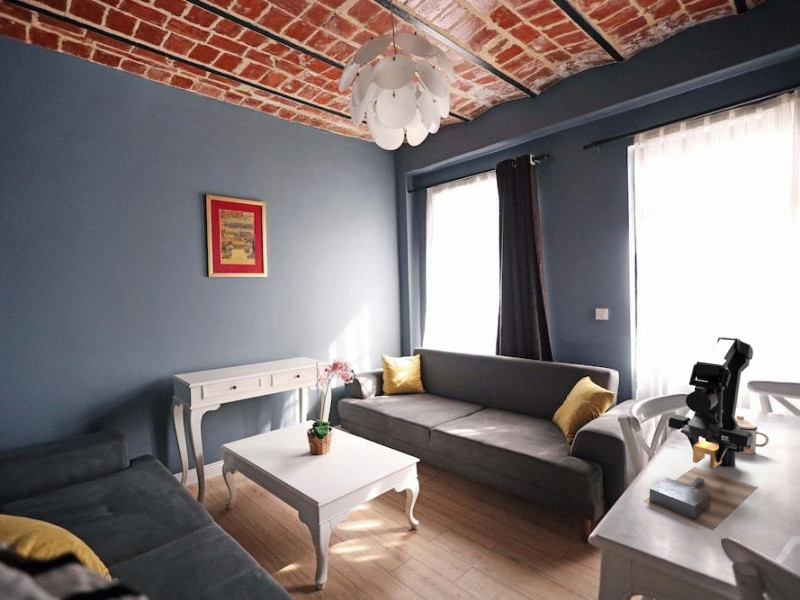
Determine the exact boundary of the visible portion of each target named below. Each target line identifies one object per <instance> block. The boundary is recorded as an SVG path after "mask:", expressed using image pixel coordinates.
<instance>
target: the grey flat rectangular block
mask: <svg viewBox="0 0 800 600" xmlns="http://www.w3.org/2000/svg"><path fill="white" fill-rule="evenodd" d="M675 480H676V479H673V478H669V477H665V478H664V479H662V480H660V482H657V483H656V484H655V485H653V486H651V487H650V488H649V497H650V499H649V502H651V503H654V504H656V505H658V506H661V507H663V508H666V509H668V510H670V511H673V512H675V513H678V514H680V515H683V516H685V517H687V518H690V519H692V520H696V519H697V518H698V517H699V516H700V515H701V514H703V513H704V512H705V511H706V510H707V509H708V508H709V507H710V503H711V493H709V492H706V491H703V490H700V489H699V488H700V487H701V486H703V485H704V480H705V479H703V478H700V477H697V478H696V479H694V480H693V481H691V482H690V483H689V484H687V485H686V484H684V483H681V482H678V481H675Z"/></svg>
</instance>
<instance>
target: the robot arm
mask: <svg viewBox="0 0 800 600" xmlns="http://www.w3.org/2000/svg"><path fill="white" fill-rule="evenodd" d="M753 355H754V350H753V348H752V345H750V344H748V343H746V342H744V341H742V340H741V339H740V338H737V337H732V336H731V337H730V336H719V337H717V341H716V345H715V346H714V348H713V349H712V350H711V352H710V354H709V355H708V356H704V357H701V358H700V359H698V360H697V361H696V363H694V364H693V366H692V370H691V374H690V379H689V382H688V385H689V386H693V387H694V391H691V392H690V393H688V394H687V395H686V398H685V403H686V406H687V407H688V409H689V410H690V411H692V412H694V415H693V416H692V417H689V416H685V415H680V414H675V415H673V416H671V417H669V418H668V421H667V422H668V423H667V426H668V428H671V429H675V430H678V431H679V430H680V433H681V434H684V436H685V437H686V438H687V440H689V443H690V446H691V449H692V450H693V445H694V444H696V443H698V442H699V441H700V438H702V439H704V441H707V442H710V443H714V444H718V445H719V449H718V455H717V462H718V463H720V461H721V460H722V463H721V464H719V465H718V466H719V467H722V468H726V467H731V468H732V467H735V466H736V458H737V457H736V454H737V453H738V454H740V453H739V452H744V447H748V446H749V445H750V444H752V443H753V435H752V434H751V432H747V431H743V430H740V427H739V425H738V423H737V421H736V420H735V417H736V410H737V403H738V397H739V391H740V384H741V383H740V382H741V377H742V376H741V375H742V372H744V370H746V369H747V368H748V367H749V366H750V361H751V360H752V359H753V357H754V356H753Z"/></svg>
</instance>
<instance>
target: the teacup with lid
mask: <svg viewBox="0 0 800 600" xmlns="http://www.w3.org/2000/svg"><path fill="white" fill-rule="evenodd" d="M735 420H736V421H737V423H738V425H739V427H740V430H743V431H747V432H751V434H752V435H753V443H752V444H750V445H749V446H748V447H744V452H739V453H738V454H743V455H752V454H756V449H757V447H758V448H762V447H765V446H768V444H769V441H770V440H769V436H768V435H767V434H766V433H764V432H762V431H757V430H758V426H757V424H755V423H754V422H752V421H750V420H748V419H746V418H745V416H744V415H741V414H737V415H736V416H735ZM757 435H761V436H763V437H764V438H765V441H764V443H761V444H759V443H757Z"/></svg>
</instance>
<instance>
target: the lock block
mask: <svg viewBox="0 0 800 600" xmlns="http://www.w3.org/2000/svg"><path fill="white" fill-rule="evenodd" d="M718 449H719V445H718V444H714V443H710V442H707V441H706V440H702V439H701V440H699V442H698V443H696V444H694V445H693V449H692V463H695V464H698V463H699V462H701V461H702V460H703V459H705V456H706V455H708V456H710V457H709V459H710V460H709V468H710V469H715V468H717V467H718V466H719V464H721V463H722V460H721V461H720V463H718V462H717V455H718Z"/></svg>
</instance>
